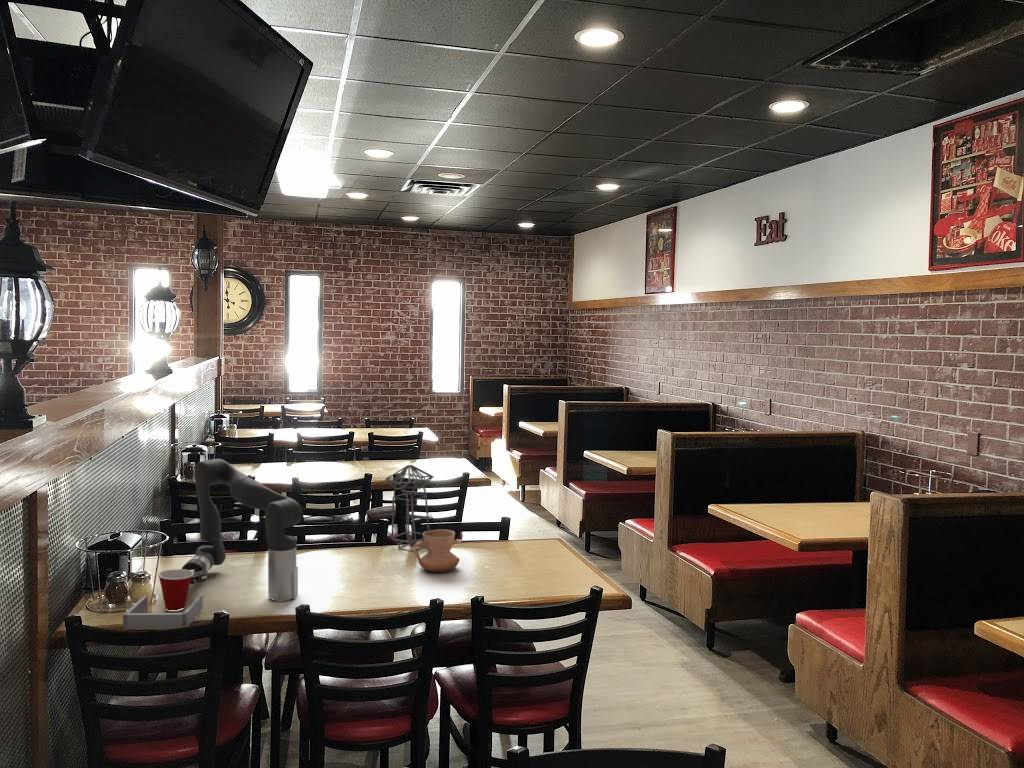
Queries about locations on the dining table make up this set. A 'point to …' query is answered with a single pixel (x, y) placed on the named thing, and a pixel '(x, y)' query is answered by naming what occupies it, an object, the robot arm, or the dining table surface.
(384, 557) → the dining table surface
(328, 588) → the dining table surface
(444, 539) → the ceramic jug
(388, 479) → the geometric lantern
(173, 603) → the plastic cup
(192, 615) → the box
